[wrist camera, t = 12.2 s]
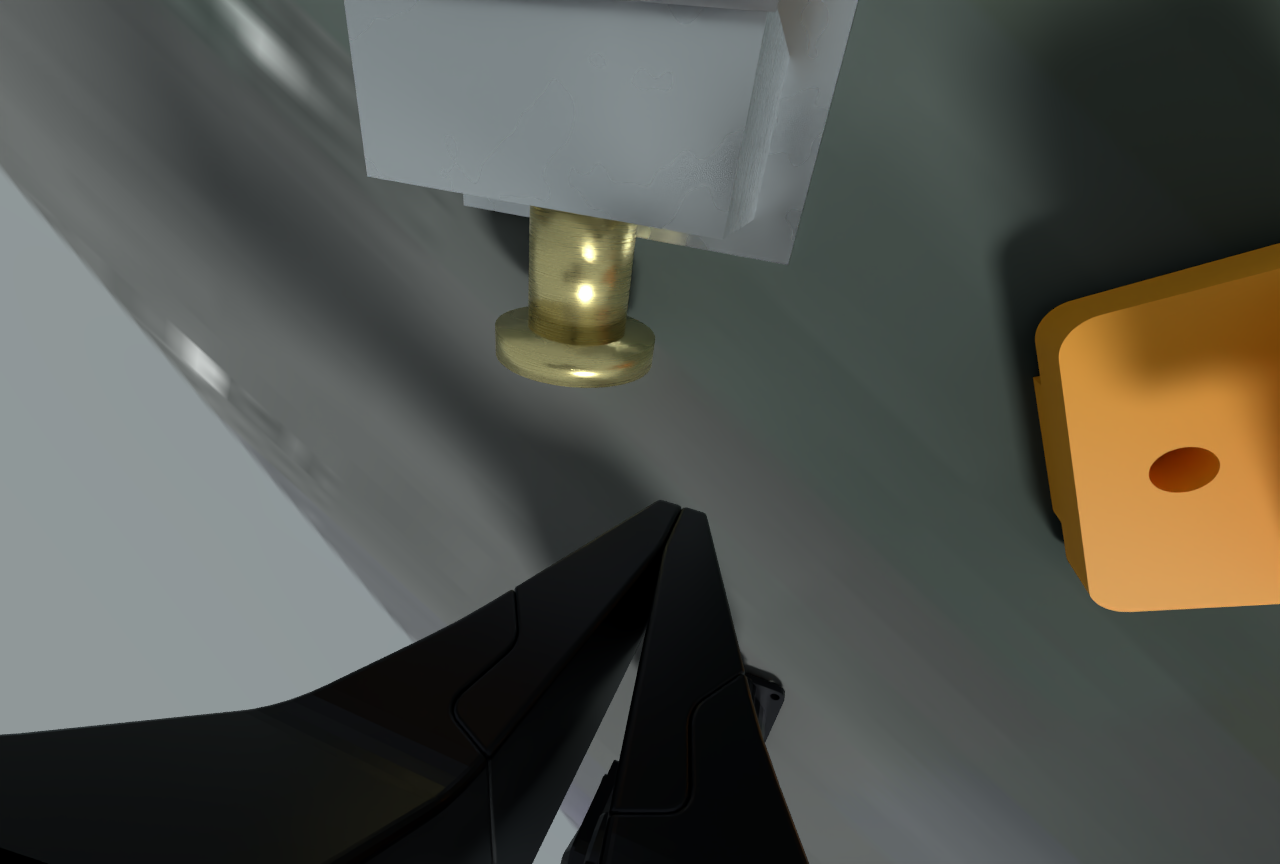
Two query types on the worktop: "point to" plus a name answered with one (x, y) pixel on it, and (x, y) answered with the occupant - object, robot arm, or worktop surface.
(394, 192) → the worktop surface
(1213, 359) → the bracket
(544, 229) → the pin
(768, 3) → the tan flat plate
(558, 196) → the hitch block
